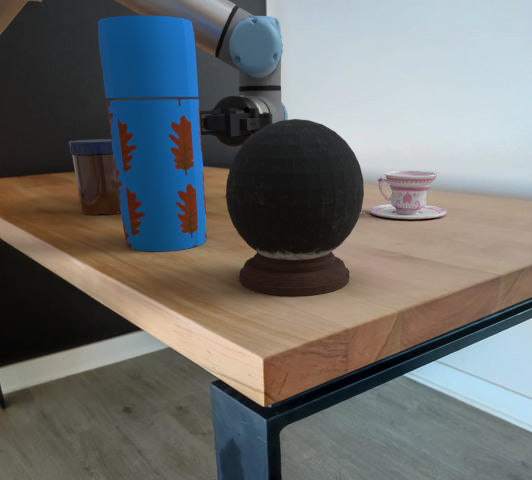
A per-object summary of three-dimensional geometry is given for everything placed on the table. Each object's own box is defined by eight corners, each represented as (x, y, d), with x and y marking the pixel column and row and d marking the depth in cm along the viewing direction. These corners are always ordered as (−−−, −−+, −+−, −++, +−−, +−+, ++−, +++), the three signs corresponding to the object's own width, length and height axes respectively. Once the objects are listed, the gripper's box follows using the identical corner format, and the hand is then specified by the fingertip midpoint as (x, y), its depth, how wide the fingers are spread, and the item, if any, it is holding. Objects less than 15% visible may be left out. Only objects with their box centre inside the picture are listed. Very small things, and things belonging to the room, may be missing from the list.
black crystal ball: (295, 255, 64) (296, 116, 58) (386, 278, 55) (398, 117, 49) (204, 278, 56) (193, 120, 50) (291, 309, 47) (292, 121, 41)
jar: (75, 215, 91) (64, 146, 87) (88, 208, 98) (79, 143, 94) (120, 214, 91) (111, 145, 87) (130, 207, 98) (123, 142, 94)
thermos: (204, 231, 78) (191, 28, 67) (210, 248, 68) (196, 15, 57) (127, 235, 76) (101, 28, 65) (121, 254, 66) (90, 14, 56)
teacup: (438, 207, 92) (442, 169, 90) (453, 220, 81) (458, 177, 79) (366, 207, 93) (369, 169, 91) (372, 220, 82) (374, 178, 80)
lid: (63, 154, 87) (61, 142, 86) (79, 150, 94) (77, 139, 94) (114, 153, 87) (112, 141, 86) (126, 149, 94) (124, 138, 94)
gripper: (313, 145, 87) (270, 157, 69) (175, 145, 95) (104, 155, 77) (314, 94, 84) (269, 91, 66) (171, 97, 92) (96, 96, 74)
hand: (180, 125), depth 71 cm, fingers open, 13 cm apart
